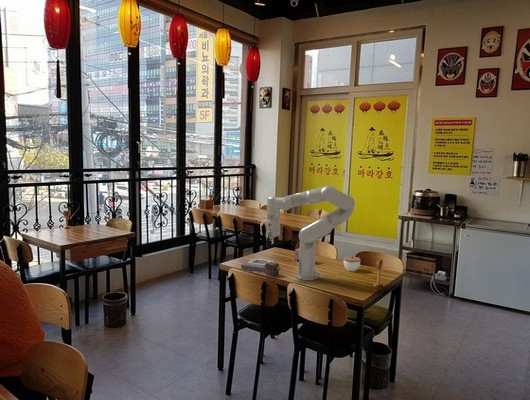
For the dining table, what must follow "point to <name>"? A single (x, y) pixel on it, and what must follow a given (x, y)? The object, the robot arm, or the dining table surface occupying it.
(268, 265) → the box
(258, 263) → the grey flat block
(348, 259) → the lidded jar
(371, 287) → the dining table surface
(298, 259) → the food item
